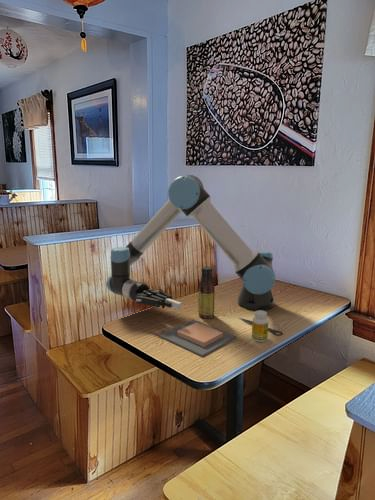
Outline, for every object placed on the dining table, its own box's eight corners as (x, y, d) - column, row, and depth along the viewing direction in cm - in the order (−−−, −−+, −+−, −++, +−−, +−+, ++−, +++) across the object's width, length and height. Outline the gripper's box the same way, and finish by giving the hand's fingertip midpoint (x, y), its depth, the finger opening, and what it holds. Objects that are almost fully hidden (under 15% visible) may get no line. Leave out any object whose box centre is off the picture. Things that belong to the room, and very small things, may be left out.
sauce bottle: (203, 311, 148) (205, 264, 144) (217, 315, 145) (218, 266, 140) (194, 316, 143) (195, 267, 138) (208, 320, 139) (209, 270, 135)
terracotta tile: (177, 331, 125) (203, 342, 117) (196, 322, 132) (223, 332, 124) (177, 335, 126) (203, 347, 118) (196, 326, 133) (222, 337, 125)
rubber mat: (158, 336, 126) (158, 334, 126) (193, 320, 139) (193, 319, 139) (202, 356, 113) (202, 355, 113) (236, 337, 126) (236, 336, 126)
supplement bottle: (254, 333, 129) (255, 308, 127) (269, 337, 127) (271, 311, 124) (249, 340, 124) (250, 313, 122) (264, 343, 122) (266, 316, 120)
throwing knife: (278, 337, 127) (278, 336, 127) (233, 319, 141) (233, 318, 141) (285, 334, 130) (285, 332, 130) (241, 316, 144) (241, 315, 144)
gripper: (148, 296, 150) (192, 311, 135) (123, 304, 141) (166, 322, 125) (148, 278, 148) (192, 292, 133) (122, 285, 139) (166, 301, 124)
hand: (179, 306), depth 129 cm, fingers closed
